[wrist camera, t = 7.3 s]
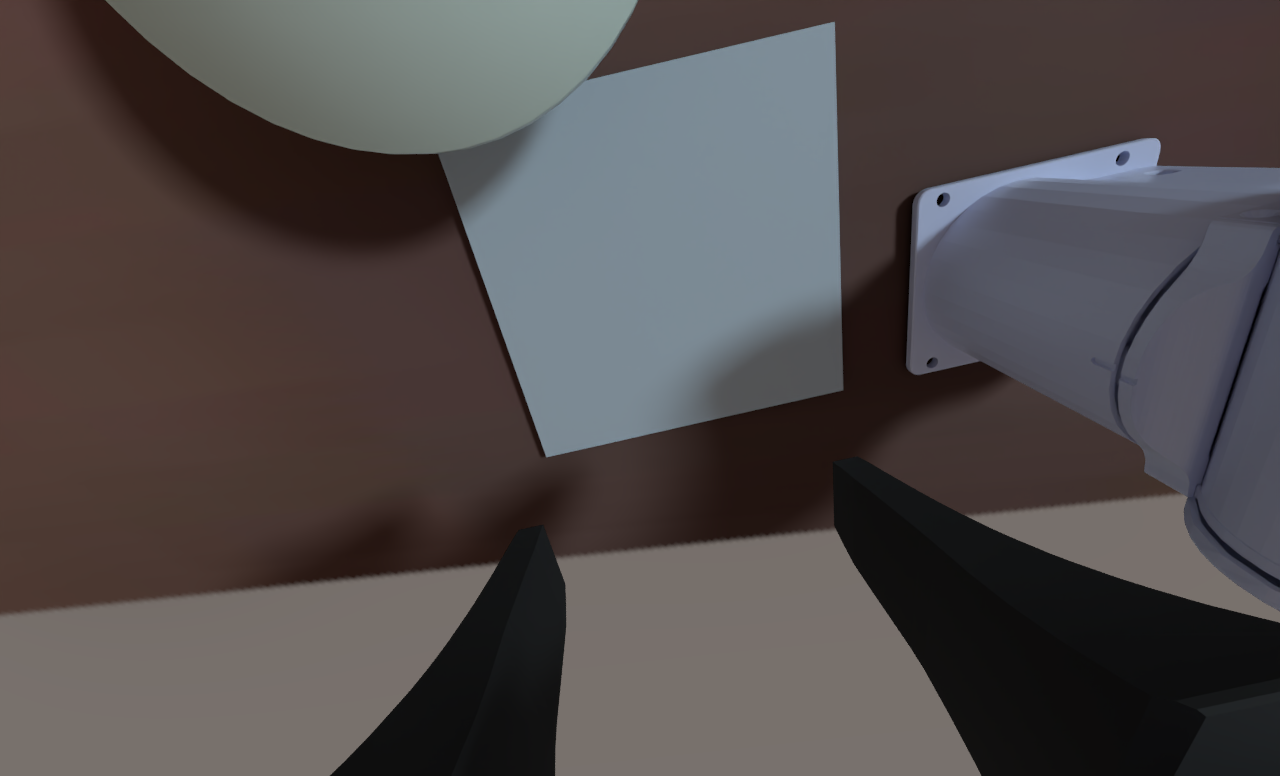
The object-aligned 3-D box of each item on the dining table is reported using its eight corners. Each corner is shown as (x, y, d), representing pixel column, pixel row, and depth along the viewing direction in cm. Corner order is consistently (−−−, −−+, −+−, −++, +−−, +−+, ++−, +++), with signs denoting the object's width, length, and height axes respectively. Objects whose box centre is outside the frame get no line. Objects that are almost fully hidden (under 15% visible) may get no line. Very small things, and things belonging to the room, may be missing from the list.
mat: (829, 24, 16) (834, 21, 16) (839, 386, 23) (843, 390, 22) (429, 119, 17) (425, 118, 16) (546, 452, 23) (546, 457, 22)
